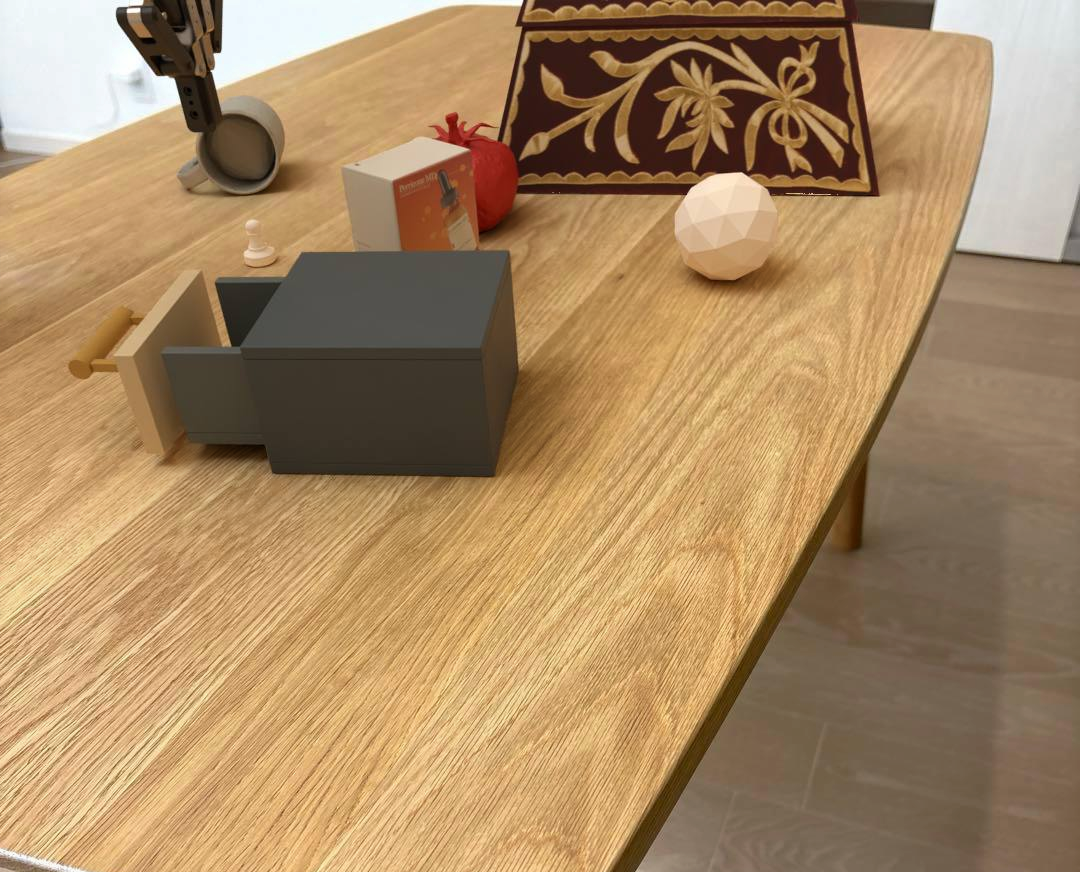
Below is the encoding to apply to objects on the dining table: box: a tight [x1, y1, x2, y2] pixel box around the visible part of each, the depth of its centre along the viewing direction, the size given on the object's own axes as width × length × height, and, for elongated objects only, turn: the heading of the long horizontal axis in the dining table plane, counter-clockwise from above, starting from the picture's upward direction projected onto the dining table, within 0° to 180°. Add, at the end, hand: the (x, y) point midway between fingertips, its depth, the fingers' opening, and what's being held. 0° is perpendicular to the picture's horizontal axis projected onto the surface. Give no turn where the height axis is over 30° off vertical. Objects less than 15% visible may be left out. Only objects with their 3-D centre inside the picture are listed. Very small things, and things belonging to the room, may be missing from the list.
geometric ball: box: [674, 172, 779, 281], centre depth 80 cm, size 8×8×8 cm
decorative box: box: [496, 0, 881, 197], centre depth 97 cm, size 35×19×20 cm, turn 81°
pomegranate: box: [427, 111, 518, 233], centre depth 91 cm, size 10×10×9 cm
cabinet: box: [240, 249, 520, 477], centre depth 66 cm, size 14×13×9 cm
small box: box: [340, 135, 481, 252], centre depth 79 cm, size 8×6×10 cm
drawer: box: [67, 269, 286, 455], centre depth 67 cm, size 17×11×7 cm
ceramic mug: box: [176, 94, 286, 195], centre depth 102 cm, size 11×8×8 cm
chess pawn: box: [243, 219, 277, 268], centre depth 88 cm, size 3×3×4 cm
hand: (206, 128), depth 77 cm, fingers closed
